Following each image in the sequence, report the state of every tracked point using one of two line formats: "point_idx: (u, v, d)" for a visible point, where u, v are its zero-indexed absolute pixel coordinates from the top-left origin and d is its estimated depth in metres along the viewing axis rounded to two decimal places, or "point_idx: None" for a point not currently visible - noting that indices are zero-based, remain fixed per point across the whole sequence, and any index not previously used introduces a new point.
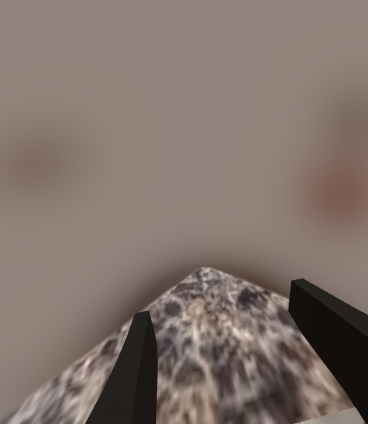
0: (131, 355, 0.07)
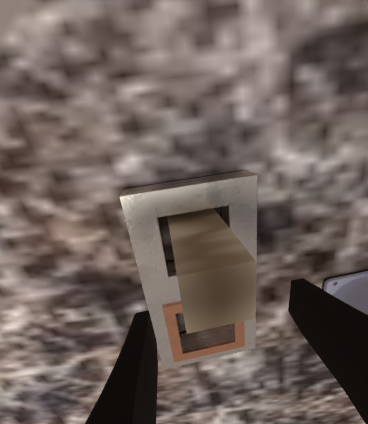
0: (131, 355, 0.07)
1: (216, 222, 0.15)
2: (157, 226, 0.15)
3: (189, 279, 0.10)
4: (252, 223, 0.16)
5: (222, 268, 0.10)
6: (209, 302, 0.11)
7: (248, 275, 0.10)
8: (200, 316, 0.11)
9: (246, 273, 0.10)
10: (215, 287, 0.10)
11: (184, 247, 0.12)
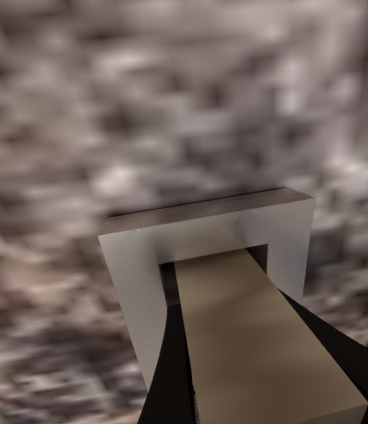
0: (174, 345, 0.07)
1: (251, 273, 0.09)
2: (158, 276, 0.10)
3: None
4: (299, 267, 0.11)
5: (299, 422, 0.05)
6: None
7: None
8: None
9: (343, 423, 0.05)
10: None
11: (207, 337, 0.07)
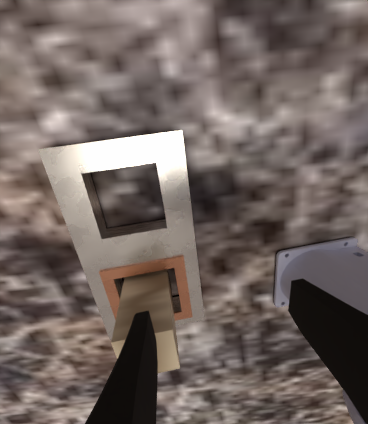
0: (131, 355, 0.07)
1: (161, 280, 0.18)
2: (82, 183, 0.15)
3: (121, 344, 0.13)
4: (183, 183, 0.16)
5: None
6: None
7: (167, 339, 0.14)
8: None
9: (166, 338, 0.14)
10: None
11: (127, 309, 0.15)
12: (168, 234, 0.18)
